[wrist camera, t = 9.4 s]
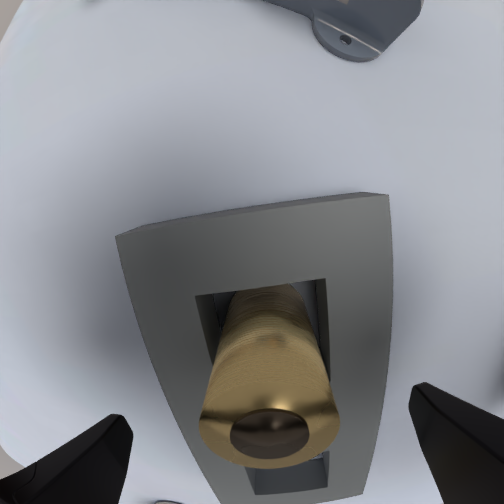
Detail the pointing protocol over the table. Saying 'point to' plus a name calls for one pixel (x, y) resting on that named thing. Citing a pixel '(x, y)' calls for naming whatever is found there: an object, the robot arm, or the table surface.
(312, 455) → the cylinder
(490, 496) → the robot arm
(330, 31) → the vise
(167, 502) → the supplement bottle
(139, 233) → the jig
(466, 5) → the table surface
